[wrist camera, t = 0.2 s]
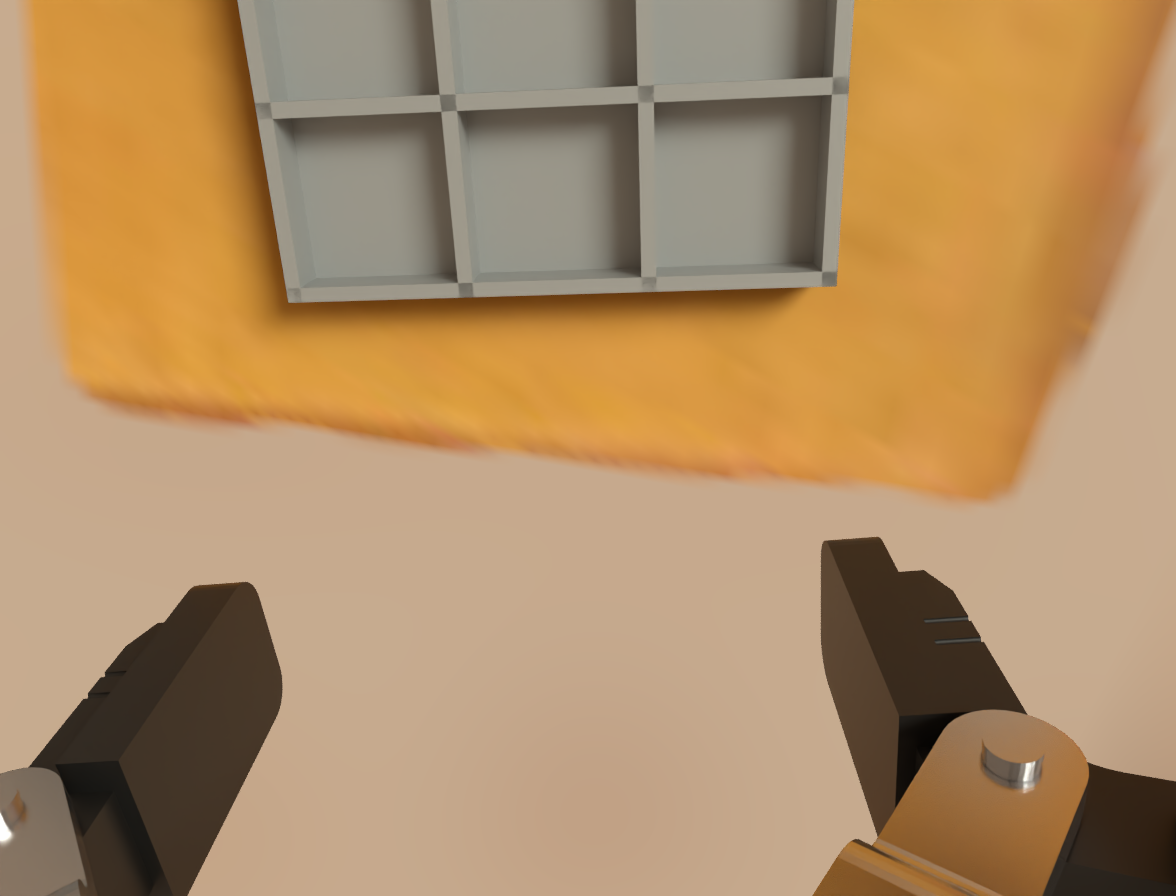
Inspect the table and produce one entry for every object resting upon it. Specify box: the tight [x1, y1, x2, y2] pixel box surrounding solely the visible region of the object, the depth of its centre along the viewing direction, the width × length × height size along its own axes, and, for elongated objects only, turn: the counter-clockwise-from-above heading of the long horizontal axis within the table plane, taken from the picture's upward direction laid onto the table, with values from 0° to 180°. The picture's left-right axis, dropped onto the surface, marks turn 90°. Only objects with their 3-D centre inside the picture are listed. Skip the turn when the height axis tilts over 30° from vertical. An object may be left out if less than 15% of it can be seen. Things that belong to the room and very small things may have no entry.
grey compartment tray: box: [237, 0, 854, 303], centre depth 36 cm, size 15×22×3 cm, turn 92°
